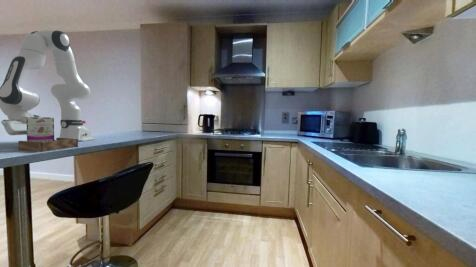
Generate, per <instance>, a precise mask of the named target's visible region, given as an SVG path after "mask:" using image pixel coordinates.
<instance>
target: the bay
mask: <svg viewBox="0 0 476 267" xmlns="http://www.w3.org/2000/svg"><path fill="white" fill-rule="evenodd" d="M55 139H56V140H54V141H48V142H32V141H27V140H18V151H25V150H28V152H38V151H39V152H48V151H56V150H64V149H72V148H78V147H79V141H78V139H72V138H59V137H56V138H55Z"/></svg>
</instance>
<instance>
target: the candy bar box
mask: <svg viewBox="0 0 476 267" xmlns="http://www.w3.org/2000/svg"><path fill="white" fill-rule="evenodd" d="M26 124H27V135H26V141H32V142H48V141H55V118H54V117H51V116H46V117H45V116H41V117H26Z"/></svg>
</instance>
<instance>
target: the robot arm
mask: <svg viewBox="0 0 476 267" xmlns="http://www.w3.org/2000/svg"><path fill="white" fill-rule="evenodd" d="M47 51H51V52H52V54H53V61H54V65H55V70H56V74H57V75H58V76H59V77H61V78H62V79H63V80H64V82H59V83H55V84H53V85H52V86H51V89H50V91H51V95H53V97H54V98H55V99H56V100H57V102H58V103H59V107H60V116H61V117H60V118H61V119H60V122H59V123H60V132H59V137H58V138H72V139H78V142H86V141H91V140H92V141H93V140H96V137H93V136H92V133H91V132H92V131H91V130H89V128H87V127H86V126H84V124H86V123H87V121H86V120H82V109H81V107H79V106H78V105H77V104H76V102H75V100H77V101H78V100H79V101H80V100H85V99H88V98H89V97H90V96H91V88H90V87H89V85H87V84H85V83H84V81H83V80H82V78H81V77H80V75H79V73H78V69H77V65H76V60H75V56H74V53H73V50H72V48H71V40H70V38H69V36H68V35H67V33H65V31H62V30H52V29H51V30H49V29H46V30H40V31H39V30H35V31H32V32H30V33H27V34H26V35H24V38H23V39H22V42H21V45H20V50H19V53H18V55H17V56H15V57H13V59H12V60H11V62H10V64H9V67H8V70H7V72H6V73H5V74H6V75H5V77H4V80H3V83H2V84H1V86H0V110H1V112H2V113H3V114H4V115H5V116H7V119H3V120H1V122H0V123H1V125H2V126H3V129H4V130H5V132H6V134H8V135H9V136H23V135H26V136H27V124H26V117H42V116H40V115H38V114H34V113H31V112H28V111H30V110H33V109H35V108H36V107H37V106H38V105H39V104H40V100H41V98H40V95H39V94H38V93H37V92H35V91H33V90H29V89H26V88H23V87H21V81H22V79H23V75H24V73H25V71H27V70H39V69H42V68H43V67H44V65H45V63H46V60H47V59H46V58H47Z"/></svg>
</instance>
